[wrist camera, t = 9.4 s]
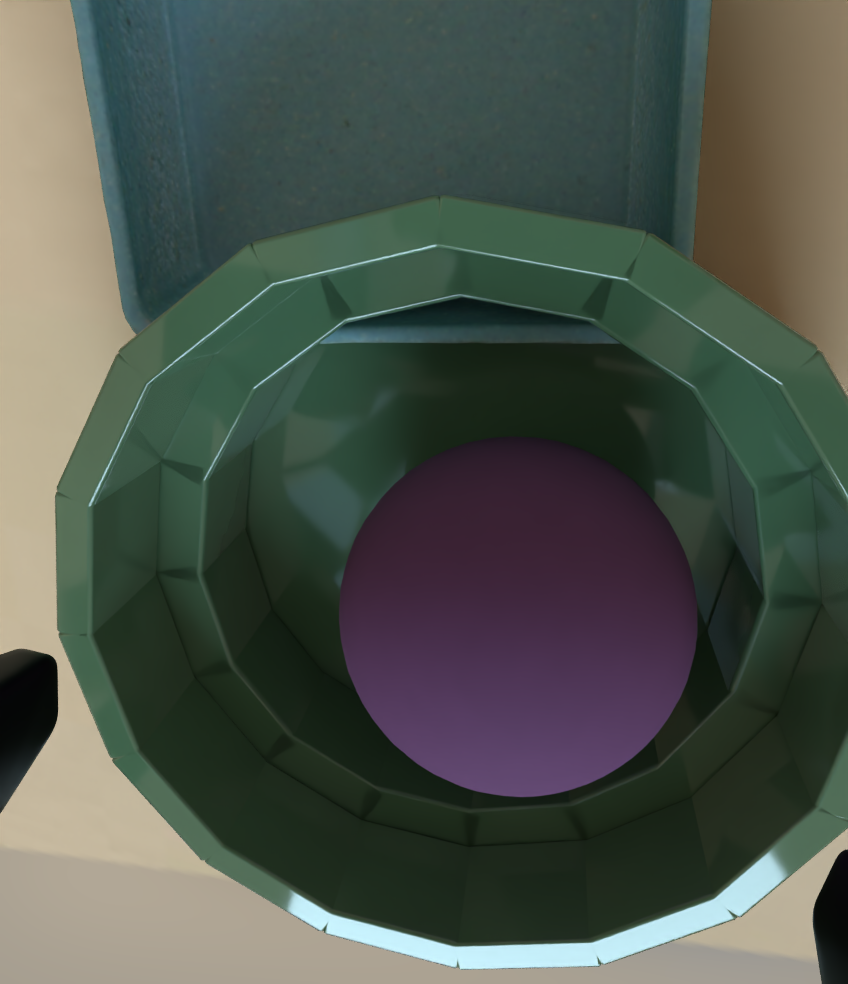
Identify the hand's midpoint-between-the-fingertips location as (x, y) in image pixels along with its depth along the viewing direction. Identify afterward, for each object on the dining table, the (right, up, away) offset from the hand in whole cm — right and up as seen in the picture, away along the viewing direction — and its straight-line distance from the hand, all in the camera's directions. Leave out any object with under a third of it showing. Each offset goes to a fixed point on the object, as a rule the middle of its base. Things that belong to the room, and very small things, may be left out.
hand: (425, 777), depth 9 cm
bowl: (+1, +3, +7) cm, 8 cm away
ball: (+1, +1, +4) cm, 4 cm away
